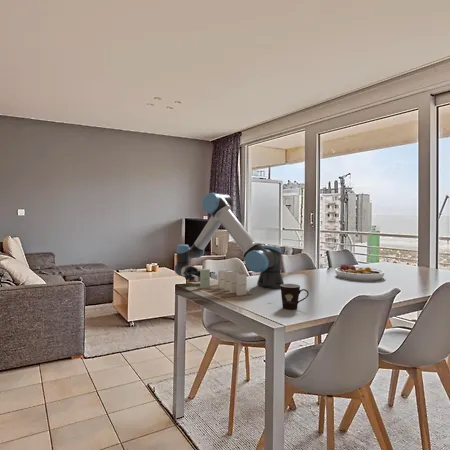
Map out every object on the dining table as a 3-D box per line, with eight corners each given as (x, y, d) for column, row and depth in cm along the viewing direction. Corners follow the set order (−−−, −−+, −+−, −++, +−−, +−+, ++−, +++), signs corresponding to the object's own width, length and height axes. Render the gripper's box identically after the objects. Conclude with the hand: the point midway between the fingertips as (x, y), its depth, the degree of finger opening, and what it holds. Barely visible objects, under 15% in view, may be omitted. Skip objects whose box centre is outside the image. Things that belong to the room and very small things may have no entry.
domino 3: (224, 290, 195) (224, 271, 195) (232, 289, 198) (232, 270, 198) (225, 290, 194) (225, 272, 194) (233, 289, 197) (233, 271, 196)
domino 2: (218, 288, 200) (218, 270, 200) (226, 287, 203) (226, 269, 203) (219, 288, 199) (219, 270, 199) (227, 287, 202) (227, 269, 201)
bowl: (393, 279, 237) (393, 267, 237) (365, 284, 220) (365, 271, 220) (353, 272, 262) (354, 261, 262) (325, 276, 245) (325, 264, 245)
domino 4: (230, 292, 190) (230, 273, 190) (238, 291, 193) (238, 272, 193) (231, 293, 189) (231, 273, 189) (239, 292, 192) (240, 272, 191)
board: (194, 288, 203) (194, 287, 203) (221, 285, 212) (221, 284, 212) (223, 300, 176) (223, 298, 176) (252, 296, 185) (252, 294, 185)
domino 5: (236, 294, 185) (236, 275, 185) (244, 293, 188) (244, 274, 187) (238, 295, 184) (238, 275, 183) (246, 294, 186) (246, 274, 186)
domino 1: (200, 287, 201) (200, 269, 201) (208, 286, 204) (208, 269, 204) (201, 288, 200) (201, 270, 200) (209, 287, 203) (209, 269, 202)
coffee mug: (276, 307, 163) (276, 285, 163) (287, 304, 170) (287, 282, 169) (299, 312, 155) (299, 289, 155) (309, 309, 162) (309, 286, 161)
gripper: (207, 276, 224) (225, 283, 206) (171, 280, 212) (187, 287, 193) (207, 264, 224) (226, 269, 205) (171, 267, 212) (187, 273, 193)
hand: (207, 278), depth 199 cm, fingers open, 11 cm apart
